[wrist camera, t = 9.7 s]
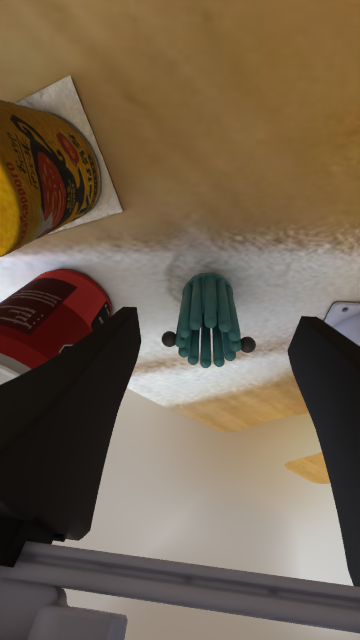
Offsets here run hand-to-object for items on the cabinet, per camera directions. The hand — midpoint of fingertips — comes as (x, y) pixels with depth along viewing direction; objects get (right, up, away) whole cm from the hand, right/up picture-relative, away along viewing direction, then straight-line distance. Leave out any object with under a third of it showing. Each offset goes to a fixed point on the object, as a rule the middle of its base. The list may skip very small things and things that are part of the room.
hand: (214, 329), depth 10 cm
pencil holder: (+1, +2, +6) cm, 7 cm away
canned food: (-12, +2, +12) cm, 17 cm away
